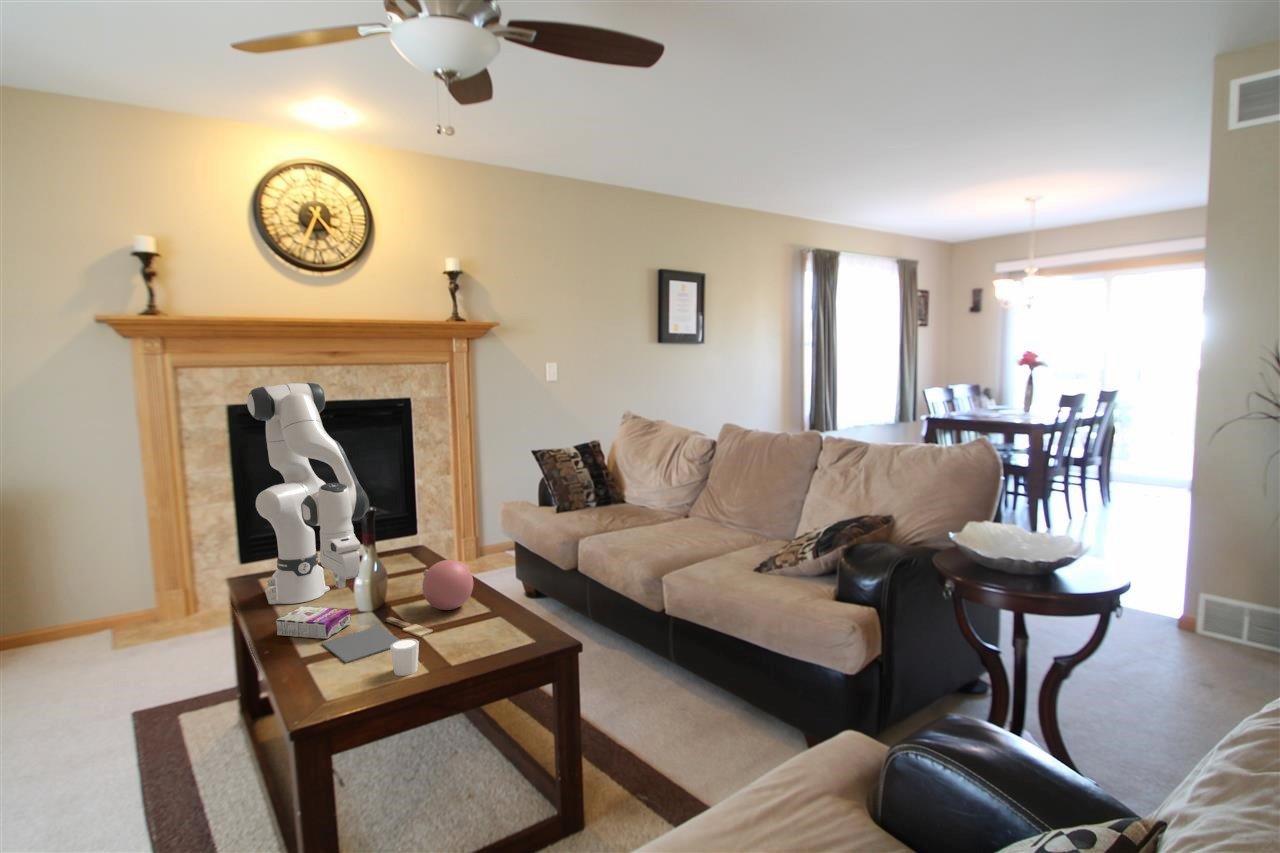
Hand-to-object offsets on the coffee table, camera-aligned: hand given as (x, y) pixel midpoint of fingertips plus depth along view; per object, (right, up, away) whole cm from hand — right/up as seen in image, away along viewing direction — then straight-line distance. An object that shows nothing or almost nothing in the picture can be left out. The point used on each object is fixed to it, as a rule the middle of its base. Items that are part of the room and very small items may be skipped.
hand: (340, 587), depth 191 cm
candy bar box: (0, -11, 0) cm, 11 cm away
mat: (+10, -14, -9) cm, 19 cm away
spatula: (+19, -13, +2) cm, 23 cm away
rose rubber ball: (+25, -11, +19) cm, 33 cm away
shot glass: (+28, -15, -24) cm, 40 cm away
